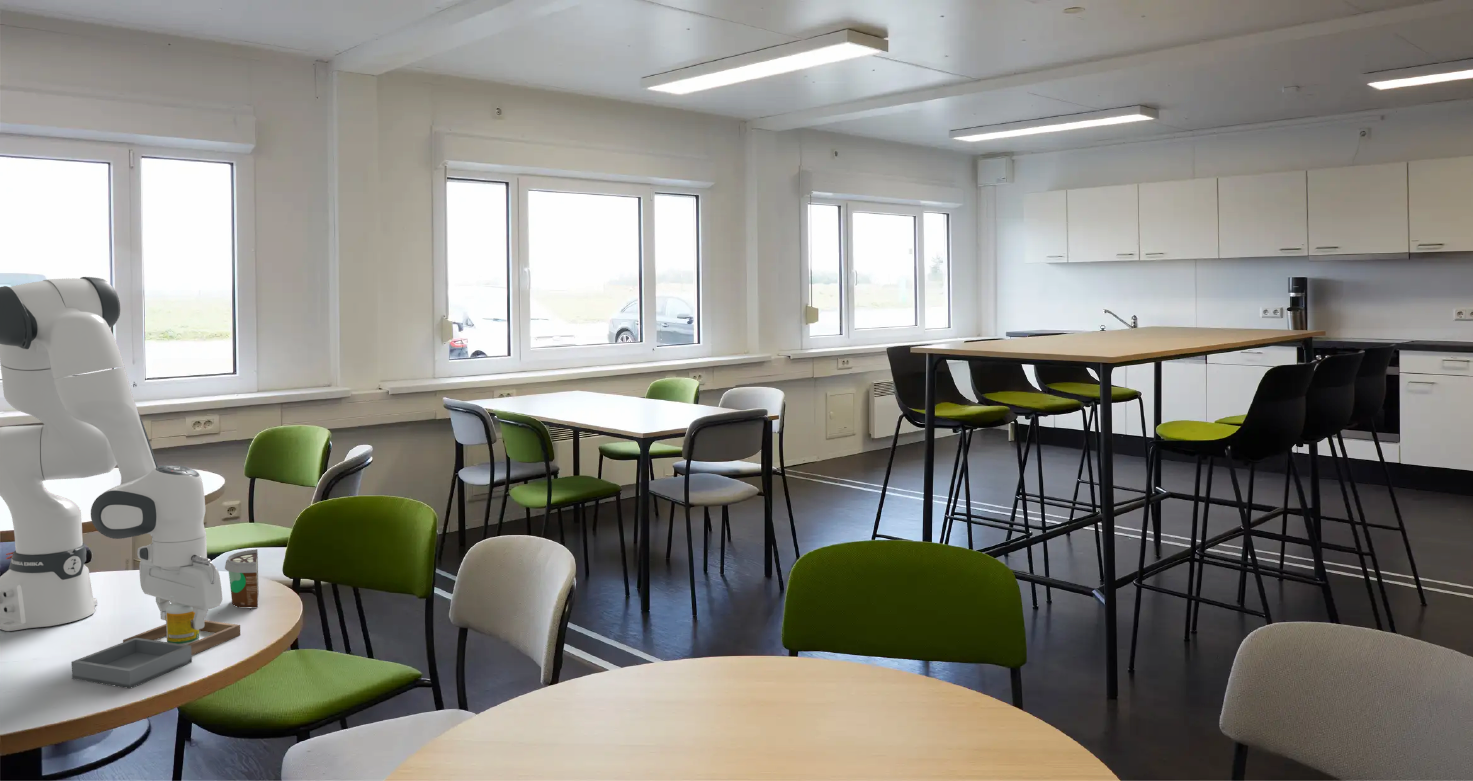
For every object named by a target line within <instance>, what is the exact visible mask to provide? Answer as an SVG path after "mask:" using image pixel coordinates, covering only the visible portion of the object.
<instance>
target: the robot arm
mask: <svg viewBox="0 0 1473 781" xmlns="http://www.w3.org/2000/svg"><path fill="white" fill-rule="evenodd" d="M120 315H121V303H120V298H119V296H118V293H117V291H116V289H115V288H114V286H112V285H111V283H109V282H108V281H107V280H106V279H104V278H100V277H94V276H93V277H92V276H82V277H80V278H49V279H43V280H42V281H41V280H40V281H33V282H25V283H21V284H16V285H11V286H8V285H3V286H0V373H1V379H2V380H1V382H2V389H3V397H4V399H5V400H6V402H7V403H8V404H9V405H10V406H11V407H12V408H14V409H15V410H17V411H18V412H21V413H24V414H25V415H30V416H32V417H34V418H35V419H37V420H39V421H40V422H41V423H42V424H40V425H39V424H38V425H37V424H35V425H17V426H16V425H13V426H11V425H10V426H7V425H6V426H0V497H1V498H2V500H3V501H4V502H5V504H6V505H7V508H8V510H9V513H10V515H11V516H10V517H11V520H12V526H13V527H12V528H13V534H14V546H15V550H14V551H12V552H8V553H5V556H7V557H6V558H5V560H10V563H9V567H8V570H7V571H5V572H4V573H2V575H1V576H0V630H2V631H5V632H10V631H12V632H13V631H19V630H25V629H33V628H44V627H52V626H58V625H64V624H67V623H68V624H69V623H71V622H76V621H78V620H82V619H84V618H87V617H89V616H91V615H93V614H94V613H95V612H96V610H97V609H96V606H97V605H98V598H97V597H94V594H93V587H92V582H91V581H92V580H91V575H90V570H89V567H88V566H86V565H85V562H87V549H86V544H85V543H83V525H82V511H81V510H82V509H80V507H79V505H78V504H77V503H75V502H74V501H73V500H71V499H69V498H67V497H64V496H61V495H57V494H55V493H52V492H51V491H49V490H48V489H47V488H46V487H45V485H44V481H52V480H54V481H55V480H68V479H69V480H72V479H85V478H90V477H94V476H99V475H104V474H108V473H110V472H111V471H113V470H114V469H115V468H116V466H117V467H118V471H119V473H120V484H118V485H116V486H114V487H111V488H110V489H107V490H106V491H104V492H103V493H101V494H100V495H98V496H97V497H96V498H95V499H94V501H93V503H92V505H91V508H90V519H91V523H92V525H93V526H94V528H95V529H96V530H97V531H98V533H100V534H101V535H102V536H104V537H107V538H109V539H115V540H118V539H119V540H121V539H129V538H132V537H137V536H142V535H146V534H148V535H150V536H151V543H150V544H148V545H143V546H140V547H138V548H137V558H138V559H139V560H140V562H139V583H140V587H141V588H140V589H141V590H142V592H143V593H144V594H145V595H147V596H151V597H153V598H154V597H155V603H156V604H157V607H158V610H159V612H160V619H161V620H162V621H165V622H166V608H167V606H168V605H169V604H171V603H170V601H169V600H170V595H171V596H174V599H175V601H176V602H177V603H180V604H183V605H187V606H190V607H193V612H195V615H194V619H192V620H191V628H192V629H196V630H199V629H202V628H204V626H205V624H204V620H206V617H207V615H208V612H209V610H210V609H215V608H217V607H220V606H221V604H222V602H223V591H222V590H223V589H222V582H221V581H222V580H221V575H220V572H219V570H218V568H217V567H216V565H214V563H213V562H212V560H211V559H210V558H209V557H208V551H207V550H208V549H207V547H208V545H207V531H206V529H205V524H204V520H205V516H206V515H205V514H206V500H205V499H206V497H205V490H204V484H203V480H202V477H201V475H200V473H199V472H198V471H197V470H196V469H193V468H191V467H188V466H185V465H177V464H176V465H175V464H174V465H173V464H172V465H168V464H165V465H160V466H159V464H158V462H157V459H156V456H155V453H154V450H153V448H152V444H151V442H150V439H149V436H148V434H147V430H146V426H145V425H144V422H143V419H142V417H141V414H140V412H139V410H138V408H137V404H136V402H135V399H134V396H133V394H132V393H133V392H132V389H131V386H130V382H129V378H128V374H127V370H126V368H125V363H124V359H123V357H122V354H121V350H120V347H119V345H118V343H117V340H116V338H115V336H114V334H113V332H112V330H111V328H112V327H113V326H115V325H116V323H117V321H118V320H119V318H120Z"/></svg>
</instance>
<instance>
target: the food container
mask: <svg viewBox="0 0 1473 781" xmlns="http://www.w3.org/2000/svg"><path fill="white" fill-rule="evenodd" d="M258 552H259V551H258V549H256V548H255V549H248V550H242V551H237V552H234V553H232V554H230V555H229V556H227V559H226V561H225V564H224V570H226V571H227V572H228V577H229V578H228V580H229V586H230V595H231V597H230V598H231V605H232V604H233V605H235V606H237V607H236V608H239V607H258V608H259V597H260V596H259V595H260V594H259V592H260V591H259V561H258V560H259V558H258V557H259V556H258V554H259V553H258ZM233 605H232V606H233ZM235 606H234V607H235Z"/></svg>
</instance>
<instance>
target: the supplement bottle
mask: <svg viewBox="0 0 1473 781" xmlns="http://www.w3.org/2000/svg"><path fill="white" fill-rule="evenodd" d="M169 601H170V604H169V605H168V606H167V608H166V621H165V624H166V632H167V636H166V642H169V643H176V644H183V645H188V644H190V643H193V642H195V641H197V640H200V631H199V630H196V629H192V628H191V620H192V619H194V615H195V612H193V607H190V606H187V605H183V604H180V603H177V602H176V601H175V599H174V596H171V595H170V600H169Z"/></svg>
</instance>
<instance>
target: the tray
mask: <svg viewBox="0 0 1473 781" xmlns="http://www.w3.org/2000/svg"><path fill="white" fill-rule="evenodd" d="M192 656H193V655H192V654H191V646H190V645H183V644H176V643H169V642H167V641H162V640H149V639H142V638H133V639H131V640H128V641H125V642H123V641H122V642H120V643H117V644H114V645H112V646H110V647H107V648H105V649H102V650H99V651H96V652H94V653H91V654H88V655H86V656H83V657H80V658H78V659H75V660H72V661H71V680H77V681H82V682H89V683H94V682H95V683H94V684H100V683H103V684H102V685H106V684H107V686H112V685H115V686H114V687H118V686H119V687H120V688H124V687H127V688H126V689H132V688H135V687H137V686H139V685H141V683H142V684H144V683H147V682H148V681H151V680H154V679H155V678H159V677H160V676H162V675H164V674H167V673H170V672H172V671H174V670H176V669H178V668H181V667H183V666H185V665H188V664H191V663H192V662H193V661H192V660H193V659H192ZM136 685H137V686H136ZM134 686H135V687H134ZM131 687H132V688H131Z"/></svg>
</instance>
